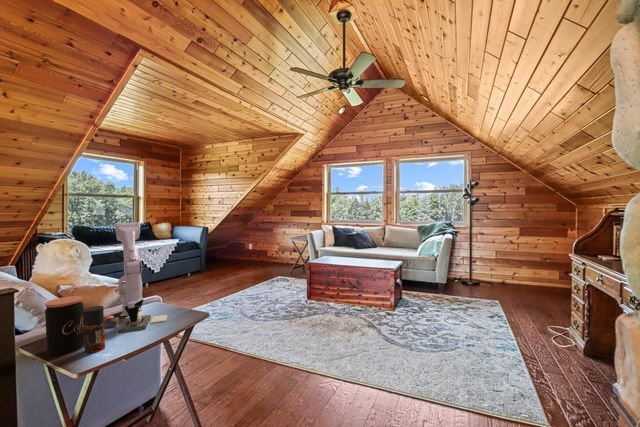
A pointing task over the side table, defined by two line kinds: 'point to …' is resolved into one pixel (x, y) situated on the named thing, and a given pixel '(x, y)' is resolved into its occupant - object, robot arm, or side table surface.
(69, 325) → the coffee jar
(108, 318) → the plunger
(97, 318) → the deodorant
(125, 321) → the housing
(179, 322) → the side table surface
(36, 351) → the side table surface
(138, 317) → the cartridge
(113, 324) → the console
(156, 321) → the tray
